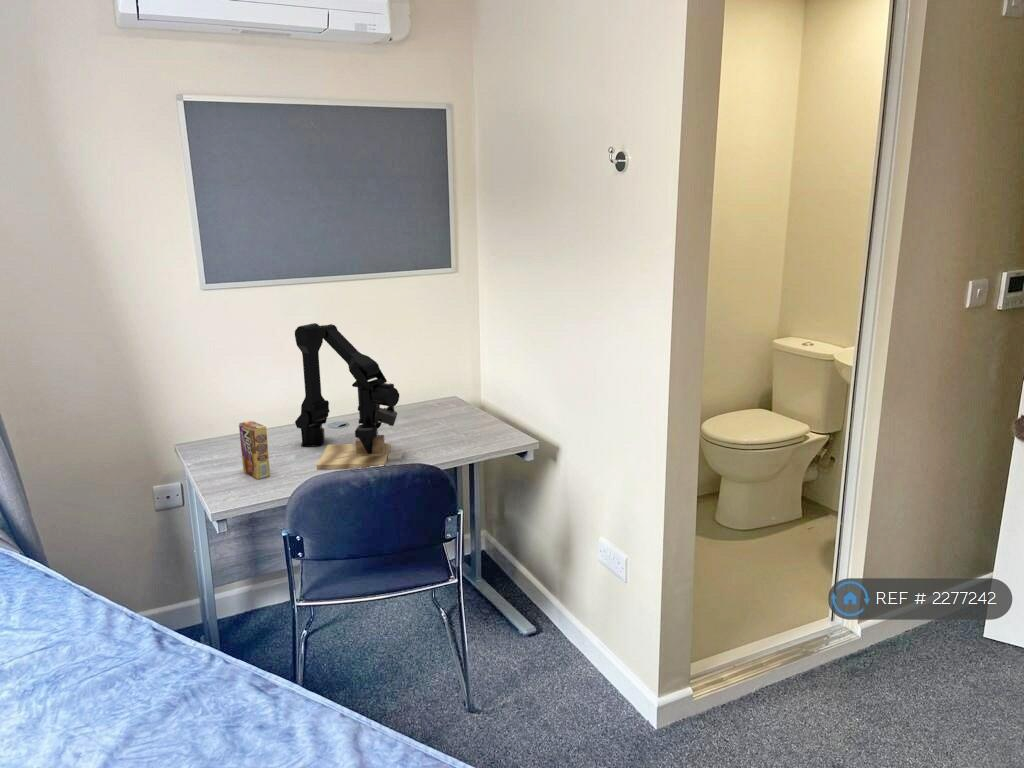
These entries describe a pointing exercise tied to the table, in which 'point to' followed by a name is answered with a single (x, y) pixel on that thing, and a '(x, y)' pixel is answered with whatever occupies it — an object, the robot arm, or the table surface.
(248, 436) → the candy box
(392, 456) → the white square tile
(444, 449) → the table surface
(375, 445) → the block
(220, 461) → the table surface
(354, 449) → the oak board
